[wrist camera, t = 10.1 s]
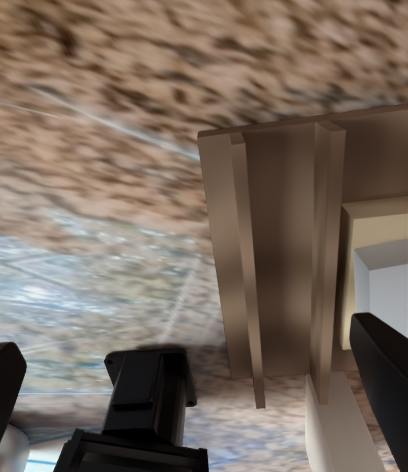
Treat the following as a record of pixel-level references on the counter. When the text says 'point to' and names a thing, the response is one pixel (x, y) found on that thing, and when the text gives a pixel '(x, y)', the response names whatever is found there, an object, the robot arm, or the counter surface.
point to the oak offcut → (361, 235)
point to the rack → (292, 232)
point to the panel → (338, 431)
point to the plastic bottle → (13, 450)
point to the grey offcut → (383, 282)
